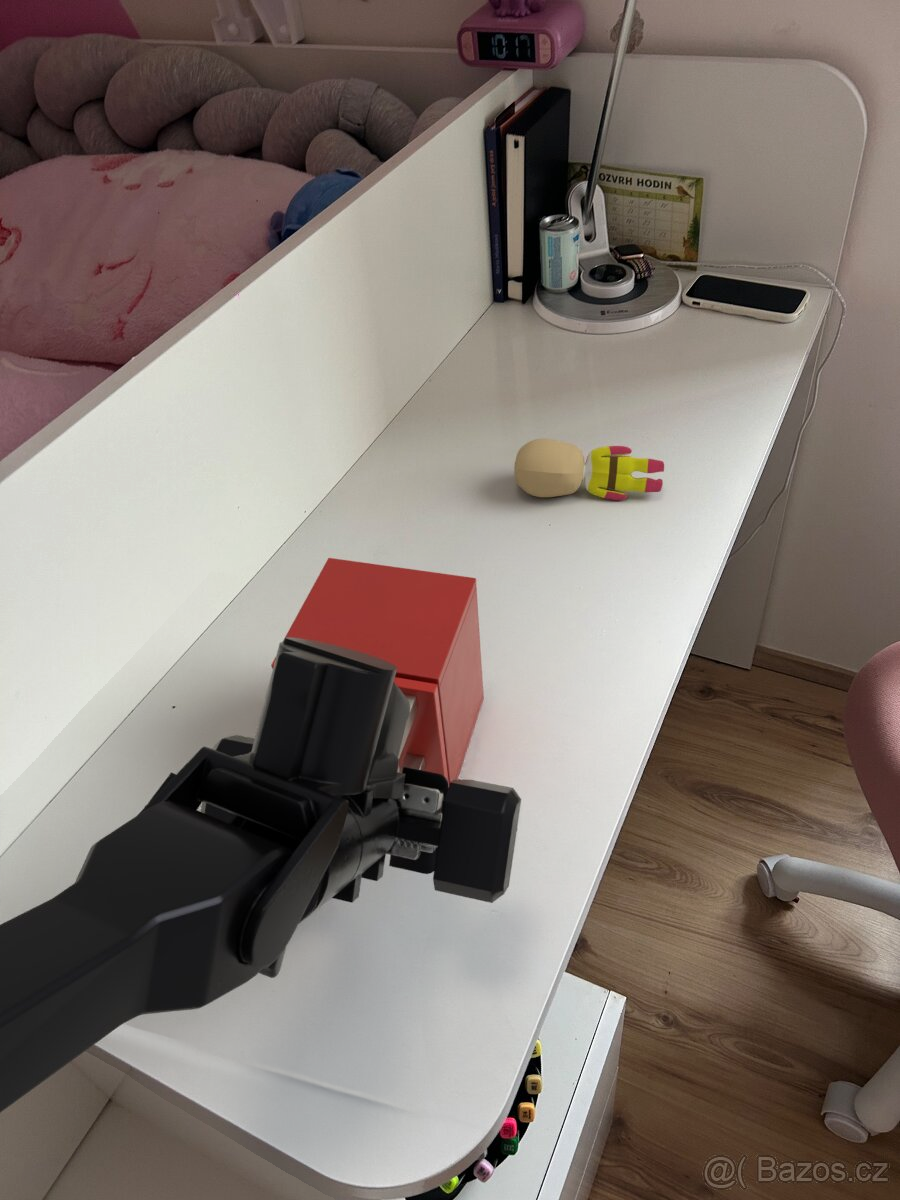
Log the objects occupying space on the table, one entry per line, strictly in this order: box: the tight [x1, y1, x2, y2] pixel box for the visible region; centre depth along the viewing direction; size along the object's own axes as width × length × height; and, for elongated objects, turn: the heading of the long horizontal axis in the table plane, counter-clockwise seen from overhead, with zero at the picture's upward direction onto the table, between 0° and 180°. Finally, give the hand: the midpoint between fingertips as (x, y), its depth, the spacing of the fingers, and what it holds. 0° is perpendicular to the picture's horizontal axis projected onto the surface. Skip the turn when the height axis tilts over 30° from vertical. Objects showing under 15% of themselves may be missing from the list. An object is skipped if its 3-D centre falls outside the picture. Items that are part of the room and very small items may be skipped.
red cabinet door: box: [271, 656, 449, 785], centre depth 64 cm, size 6×12×13 cm, turn 74°
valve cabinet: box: [282, 557, 485, 784], centre depth 70 cm, size 10×12×14 cm
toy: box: [513, 438, 665, 501], centre depth 94 cm, size 6×7×15 cm
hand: (398, 789), depth 62 cm, fingers open, 3 cm apart
